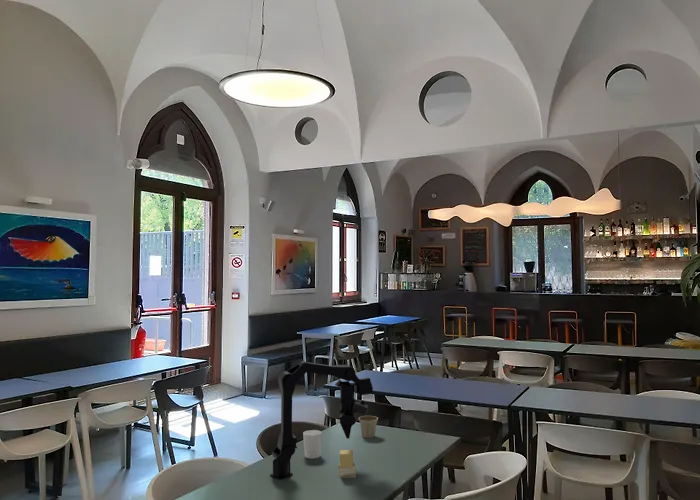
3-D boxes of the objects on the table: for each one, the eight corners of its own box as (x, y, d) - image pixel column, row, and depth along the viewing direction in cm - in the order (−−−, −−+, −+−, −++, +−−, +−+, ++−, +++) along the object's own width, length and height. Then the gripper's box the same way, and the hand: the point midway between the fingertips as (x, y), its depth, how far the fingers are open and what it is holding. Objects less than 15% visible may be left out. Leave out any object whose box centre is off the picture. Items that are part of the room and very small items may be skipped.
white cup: (299, 457, 237) (299, 434, 237) (309, 452, 244) (309, 429, 244) (315, 460, 233) (315, 436, 234) (325, 454, 240) (324, 431, 241)
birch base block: (356, 477, 213) (355, 467, 214) (340, 478, 213) (340, 468, 213) (353, 472, 219) (353, 462, 220) (338, 473, 219) (338, 463, 219)
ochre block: (352, 467, 214) (352, 454, 214) (339, 467, 214) (339, 454, 214) (353, 462, 219) (352, 450, 219) (340, 462, 219) (340, 450, 219)
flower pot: (381, 435, 267) (381, 417, 268) (372, 440, 259) (372, 421, 260) (365, 432, 272) (364, 414, 273) (355, 437, 264) (354, 419, 265)
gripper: (367, 401, 218) (368, 441, 217) (366, 391, 236) (366, 428, 236) (339, 402, 218) (340, 442, 217) (340, 391, 236) (340, 428, 236)
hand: (347, 435), depth 226 cm, fingers open, 9 cm apart
